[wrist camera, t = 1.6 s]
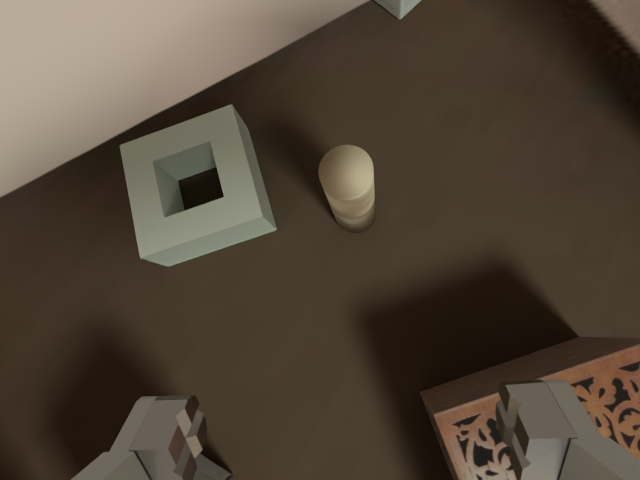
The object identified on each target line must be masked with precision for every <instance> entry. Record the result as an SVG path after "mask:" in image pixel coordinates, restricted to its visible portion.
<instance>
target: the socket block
mask: <svg viewBox="0 0 640 480" xmlns="http://www.w3.org/2000/svg"><path fill="white" fill-rule="evenodd" d="M120 150H121V156H122V161H123V167H124V172H125V178H126V183H127V189H128V194H129V200H130V205H131V211H132V216H133V222H134V227H135V233H136V238H137V244H138V249H139V255H140V258H142V259H145V260H148V261H151V262H155V263H158V264H161V265H164V266H168V267H169V266H172V265H175V264H178V263H181V262H184V261H187V260H190V259H193V258H196V257H199V256H202V255H204V254H207V253H210V252H213V251H216V250H219V249H222V248H225V247H228V246H231V245H234V244H237V243H240V242H243V241H246V240H249V239H252V238H255V237H258V236H261V235H264V234H267V233H270V232H273V231H276V230H277V228H276V225H275V221H274V218H273V214H272V211H271V207H270V204H269V200H268V197H267V193H266V190H265V186H264V183H263V179H262V175H261V172H260V168H259V165H258V161H257V158H256V154H255V151H254V147H253V144H252V140H251V137H250V133H249V130H248V128H247V126H246V125H245V123H244V122H243V120H242V119H241V117H240V116H239V114H238V113H237V111H236V110H235V108H234V107H233V105H232V104H231V105H228V106H225V107H223V108H220V109H217V110H214V111H212V112H209V113H206V114H204V115H201V116H198V117H195V118H193V119H190V120H187V121H184V122H182V123H179V124H176V125H173V126H171V127H168V128H165V129H163V130H160V131H157V132H154V133H152V134H149V135H146V136H143V137H141V138H138V139H135V140H132V141H130V142H127V143H124V144H122V145H120ZM215 167H217V171H218V175H219V179H220V183H221V187H222V191H223V195H224V197H223V198H220V199H217V200H214V201H211V202H208V203H205V204H202V205H200V206H197V207H194V208H191V209H188V210H184V205H183V201H182V196H181V192H180V187H179V183H178V180H181V179H184V178H187V177H190V176H192V175H195V174H198V173H201V172H204V171H206V170H209V169H212V168H215Z"/></svg>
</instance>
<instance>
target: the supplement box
mask: <svg viewBox="0 0 640 480" xmlns="http://www.w3.org/2000/svg"><path fill="white" fill-rule="evenodd" d="M374 1H376V2H377V3H378V4H380V5H381V6H382V7H384V8H385V9H386V10H387V11H389V12H390V13H391V14H392V15H394V16H395V17H396V18H397V19H399V20H400V19H401V18H403V17H404V16H405V15H406V14H407V13H408V12H409V11H410V10H411V9H412V8H413V7H414V6H416V5H417V4H418V3H419V2H420V1H421V0H374Z"/></svg>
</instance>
